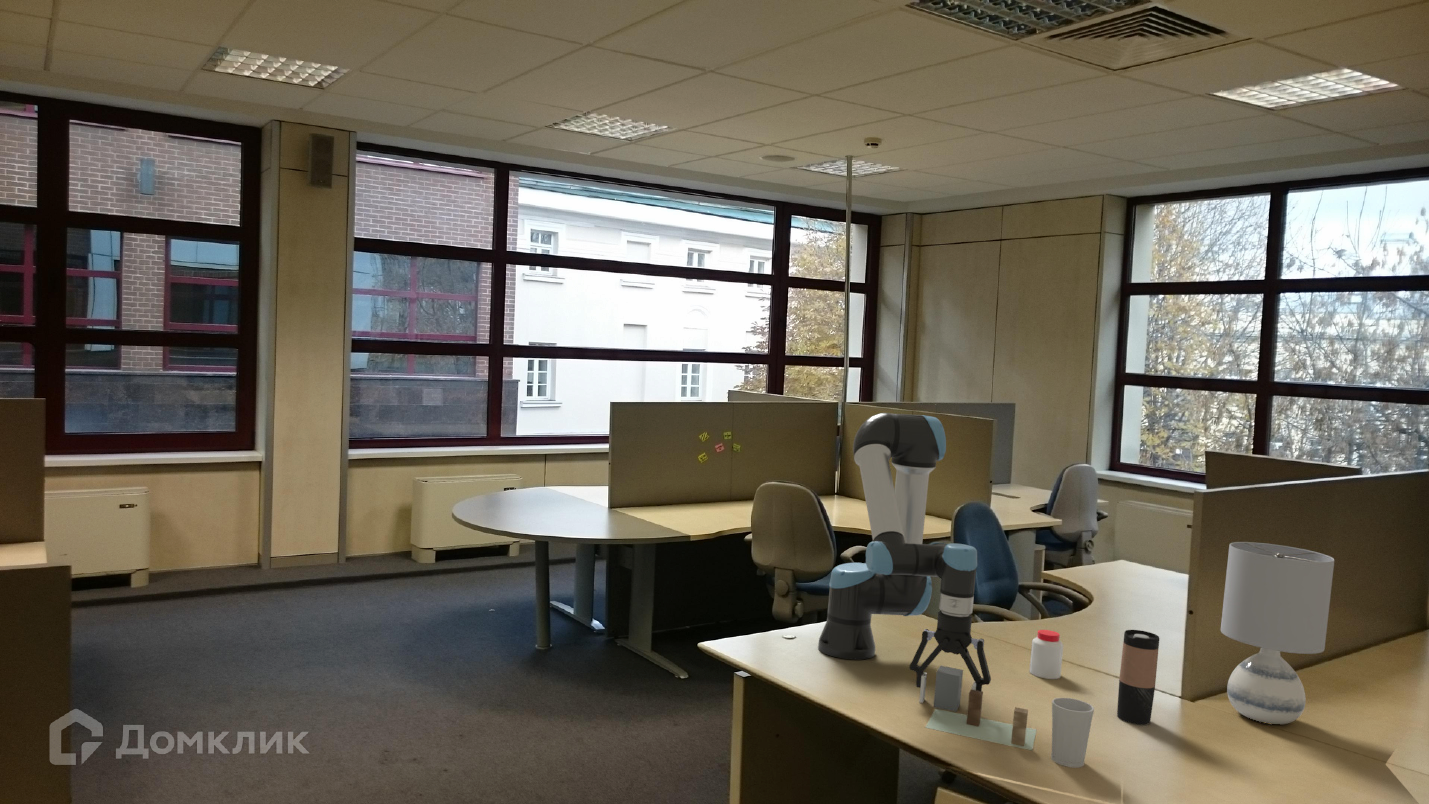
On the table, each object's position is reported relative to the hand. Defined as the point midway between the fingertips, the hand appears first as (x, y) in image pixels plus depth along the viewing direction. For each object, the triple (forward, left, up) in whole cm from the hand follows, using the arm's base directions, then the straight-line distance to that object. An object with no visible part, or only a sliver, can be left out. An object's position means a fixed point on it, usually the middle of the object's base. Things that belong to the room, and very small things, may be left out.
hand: (946, 706), depth 225 cm
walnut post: (+7, -8, 0) cm, 11 cm away
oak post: (+17, -14, 0) cm, 22 cm away
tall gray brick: (0, 0, 0) cm, 0 cm away
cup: (+27, -18, 0) cm, 32 cm away
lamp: (+69, +38, 0) cm, 79 cm away
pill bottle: (+19, +41, 0) cm, 45 cm away
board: (+9, -10, 0) cm, 13 cm away
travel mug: (+40, +18, 0) cm, 44 cm away
